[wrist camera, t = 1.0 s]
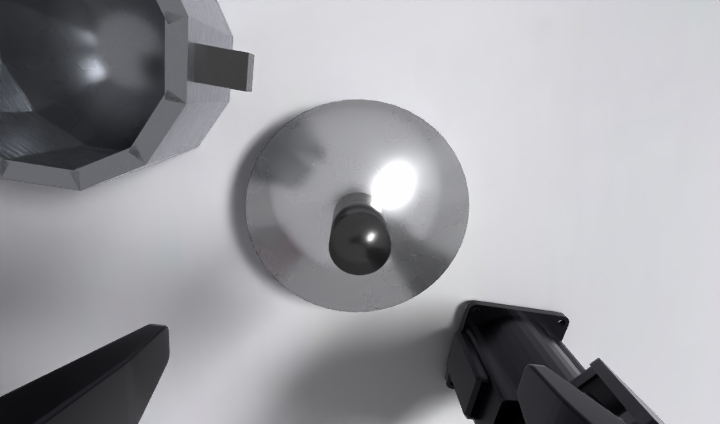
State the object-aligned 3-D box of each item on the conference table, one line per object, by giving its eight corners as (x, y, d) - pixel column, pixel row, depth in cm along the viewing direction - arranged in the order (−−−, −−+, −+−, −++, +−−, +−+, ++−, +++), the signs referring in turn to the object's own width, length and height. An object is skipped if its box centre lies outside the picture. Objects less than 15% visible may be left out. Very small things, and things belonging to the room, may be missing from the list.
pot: (283, -53, 16) (255, -114, 11) (261, 184, 20) (233, 213, 15) (-79, -129, 15) (-279, -232, 10) (-35, 137, 18) (-168, 152, 14)
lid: (483, 120, 19) (537, 130, 13) (432, 306, 23) (459, 375, 17) (263, 80, 18) (225, 74, 13) (246, 281, 22) (211, 344, 16)
